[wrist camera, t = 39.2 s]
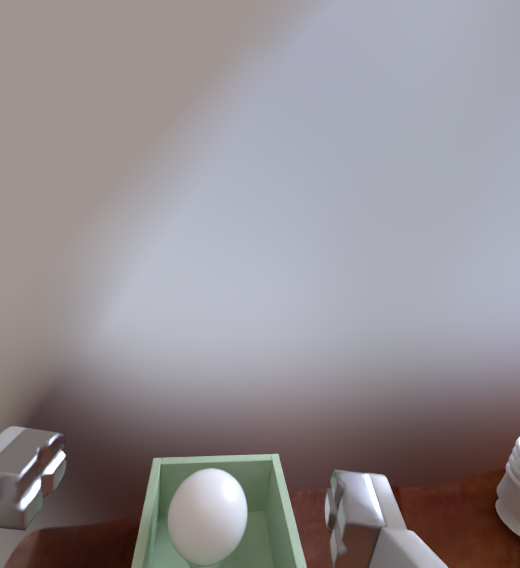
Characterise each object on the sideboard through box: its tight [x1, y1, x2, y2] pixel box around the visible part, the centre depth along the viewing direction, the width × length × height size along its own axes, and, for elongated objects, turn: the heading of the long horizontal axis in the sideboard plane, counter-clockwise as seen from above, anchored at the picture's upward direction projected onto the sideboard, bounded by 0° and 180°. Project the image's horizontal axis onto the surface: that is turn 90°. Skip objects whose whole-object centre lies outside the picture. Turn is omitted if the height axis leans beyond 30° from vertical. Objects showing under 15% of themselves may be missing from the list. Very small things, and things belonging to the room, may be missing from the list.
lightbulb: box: [167, 468, 248, 568], centre depth 26 cm, size 6×6×11 cm
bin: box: [131, 454, 307, 568], centre depth 28 cm, size 13×13×8 cm
